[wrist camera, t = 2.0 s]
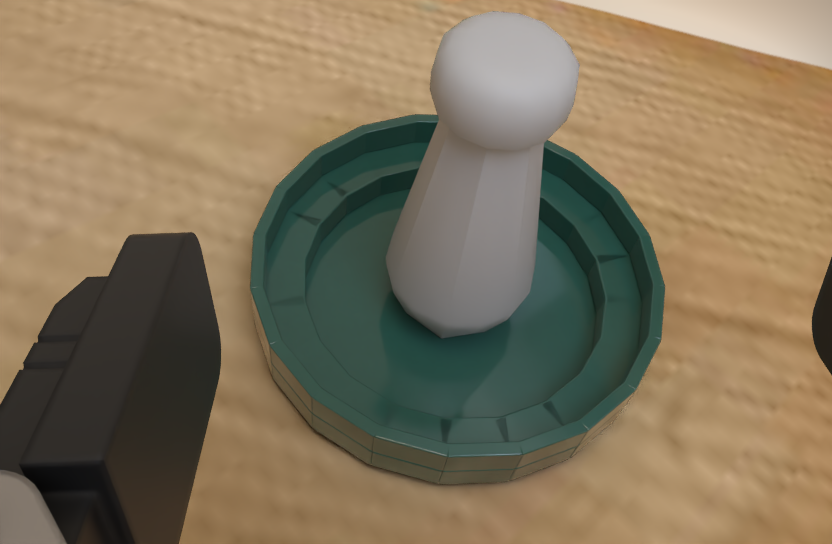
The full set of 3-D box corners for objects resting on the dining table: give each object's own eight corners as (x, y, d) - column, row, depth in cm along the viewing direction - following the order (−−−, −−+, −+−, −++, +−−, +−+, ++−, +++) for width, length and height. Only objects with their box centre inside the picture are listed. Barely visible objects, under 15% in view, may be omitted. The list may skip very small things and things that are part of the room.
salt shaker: (480, 225, 35) (549, -35, 24) (547, 327, 32) (656, 85, 22) (359, 265, 33) (377, 2, 23) (419, 377, 30) (470, 139, 20)
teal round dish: (181, 267, 33) (169, 222, 30) (464, 114, 40) (473, 67, 37) (430, 581, 27) (441, 556, 24) (715, 335, 33) (746, 296, 31)
